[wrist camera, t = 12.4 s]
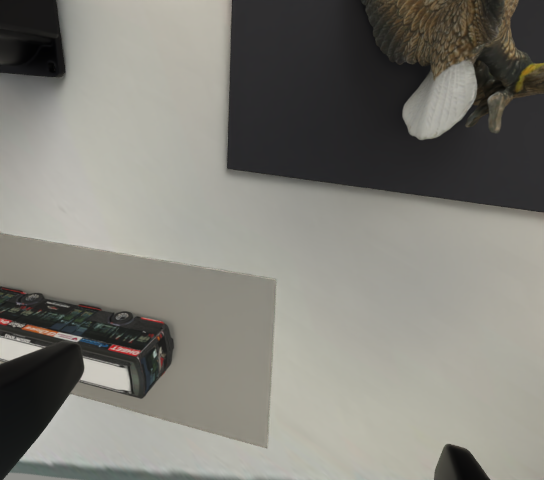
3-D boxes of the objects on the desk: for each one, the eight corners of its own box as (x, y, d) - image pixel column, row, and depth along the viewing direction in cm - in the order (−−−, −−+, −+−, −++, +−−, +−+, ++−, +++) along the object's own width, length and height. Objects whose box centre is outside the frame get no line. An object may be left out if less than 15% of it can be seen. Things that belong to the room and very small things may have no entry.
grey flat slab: (-44, 226, 26) (-114, 247, 22) (276, 279, 21) (255, 319, 17) (4, 374, 32) (-46, 411, 28) (267, 448, 26) (249, 506, 22)
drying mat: (229, 167, 19) (226, 168, 19) (241, -193, 14) (237, -200, 13) (669, 227, 15) (676, 230, 14) (942, -256, 9) (964, -271, 9)
